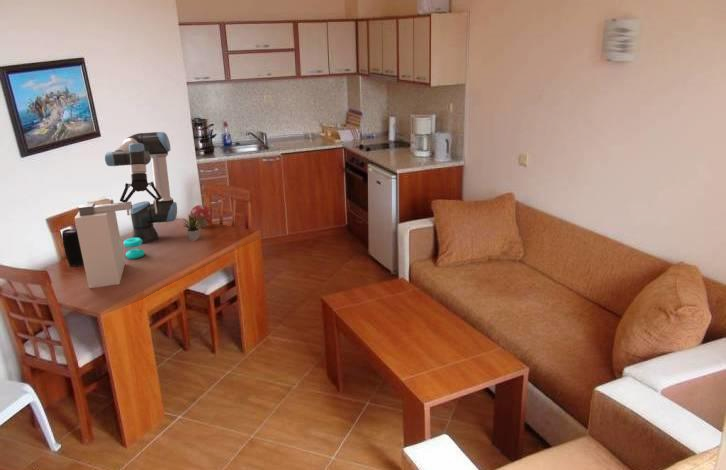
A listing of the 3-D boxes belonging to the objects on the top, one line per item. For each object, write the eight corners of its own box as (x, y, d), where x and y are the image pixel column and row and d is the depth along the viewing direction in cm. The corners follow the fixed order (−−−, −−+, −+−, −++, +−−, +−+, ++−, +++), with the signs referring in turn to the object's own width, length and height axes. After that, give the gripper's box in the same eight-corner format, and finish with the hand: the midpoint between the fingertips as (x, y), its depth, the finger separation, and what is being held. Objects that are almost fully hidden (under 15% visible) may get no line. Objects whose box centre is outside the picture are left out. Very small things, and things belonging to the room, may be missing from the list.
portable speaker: (88, 261, 314) (82, 227, 307) (79, 267, 305) (72, 233, 299) (74, 261, 314) (67, 227, 308) (64, 267, 305) (57, 233, 299)
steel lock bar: (132, 206, 282) (131, 198, 281) (131, 210, 275) (129, 202, 274) (82, 211, 276) (81, 203, 275) (80, 215, 269) (78, 207, 267)
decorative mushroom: (215, 228, 363) (212, 205, 359) (194, 232, 357) (191, 209, 352) (210, 223, 374) (207, 201, 370) (189, 226, 368) (186, 204, 364)
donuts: (129, 236, 320) (145, 237, 318) (132, 253, 324) (148, 253, 322) (119, 242, 311) (135, 243, 309) (122, 259, 314) (138, 259, 312)
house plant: (213, 237, 345) (210, 212, 340) (196, 244, 334) (192, 218, 329) (197, 234, 352) (193, 209, 347) (179, 240, 341) (176, 215, 336)
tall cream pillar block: (125, 263, 307) (112, 198, 296) (119, 284, 280) (105, 213, 268) (97, 267, 304) (84, 201, 292) (88, 288, 276) (73, 216, 265)
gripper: (111, 174, 284) (115, 215, 284) (163, 171, 291) (167, 212, 291) (114, 175, 291) (117, 216, 292) (164, 172, 298) (168, 212, 298)
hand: (142, 214), depth 291 cm, fingers open, 13 cm apart
